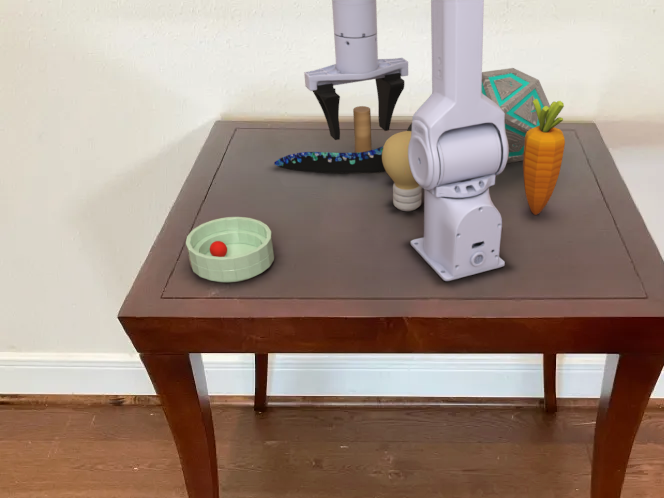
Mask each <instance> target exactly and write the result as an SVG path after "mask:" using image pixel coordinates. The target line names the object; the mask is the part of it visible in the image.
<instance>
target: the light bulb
mask: <svg viewBox="0 0 664 498" xmlns="http://www.w3.org/2000/svg"><path fill="white" fill-rule="evenodd" d="M411 132H412V131H407V130H403V131H399V132H396V133H394V134H393V135H391V136H389V137H388V138H387V139H386V141H385V143H384V145H383V151H382V162H383V166H384V168H385V170H386V172H385V173H386V174H387V175H388V177H389V178H390V179H391V180H392V181H393V184H392V204H393V206H394V207H395V208H397V209H398V210H400V211H403V212H412V211H415V210H417V209H418V208H420V206H421V205H422V195H423V194H422V189H423V188H422V187H421V186H420V185H419V184H418V183H417V182H416V181H415V179H414V177H413V175H412V172H411V169H410V165H409V160H408V146H409V142H410V139H411Z"/></svg>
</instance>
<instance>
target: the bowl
mask: <svg viewBox="0 0 664 498" xmlns="http://www.w3.org/2000/svg"><path fill="white" fill-rule="evenodd" d="M215 241H221V242H223V243H224V244H225V245H226V246H227V254H226V255H225V256H224V257H216V256H212V255H211V253H210V246H211V244H212V243H213V242H215ZM185 248H186V253H187V257H188V261H189V265H190V267H191V269H192V272H193V273H194V274H196V275H197V276H198V277H199V278H202V279H205V280H207V281H211V282H216V283H237V282H243V281H247V280H249V279H252V278H255V277H256V276H258V275H261V274H262V273H263V272H265V271H266V270H267V269H269V268H270V267H271V266H272V264H273V262H274V261H275V249H274V242H273V234H272V230H271V229H270V227H269V226H268V224H266V223H264V222H263V221H261V220H259V219H255V218H252V217H245V216H227V217H225V216H224V217H221V218H215V219H212V220H209V221H206V222H203V223H201V224H200V225H197V226H196V227H194V228H192V230H191V231H190V232H189V233H188V234H187V236H186V239H185Z"/></svg>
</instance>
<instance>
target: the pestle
mask: <svg viewBox="0 0 664 498" xmlns="http://www.w3.org/2000/svg"><path fill="white" fill-rule="evenodd" d="M352 114H353V115H352V116H353V133H354V135H353V136H354V153H357V152H365V151H370V150H373V148H372V146H373V145H372V116H371V115H372V114H371V108H370V107H369V106H364V105H361V106H360V105H359V106H355V107H354V108H352Z"/></svg>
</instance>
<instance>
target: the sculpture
mask: <svg viewBox="0 0 664 498" xmlns="http://www.w3.org/2000/svg"><path fill="white" fill-rule="evenodd" d="M481 93H482V94H484V95H485V96H486V97H488V98H489V99H491V100H492V101H493V102H495V103H496V104H497V105H498V106H499V107H500V108H501V109H502V111H503V112H504V113H505V118H504V120H505V132H506V136H507V140H508V147H509V154H508V160H507V163H506V165H507V164H511V163H517V162H523V159H524V144H525V135H526V133H527V131H529V130H530V129H532V128H534V127H537V126H540V124H539V120H538V116H537V113H536V109H535V107H534V104H533V101H534V100H535V99H537V100H538V101H539V103H540V106H541V110H542V108H543V107H545V106H548V107H550V105H551V103H550V102H549V100H548V98H547V96H546V93H545V91H544V89H543V86H542V84H541V82H540V79H538V78H536V77H534V76H532V75H529V74H527V73H525V72H523V71H521V70H519V69H516V68H515V67H509V68H502V69H494V70H487V71H482V89H481ZM545 122H546V119H545Z"/></svg>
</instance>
